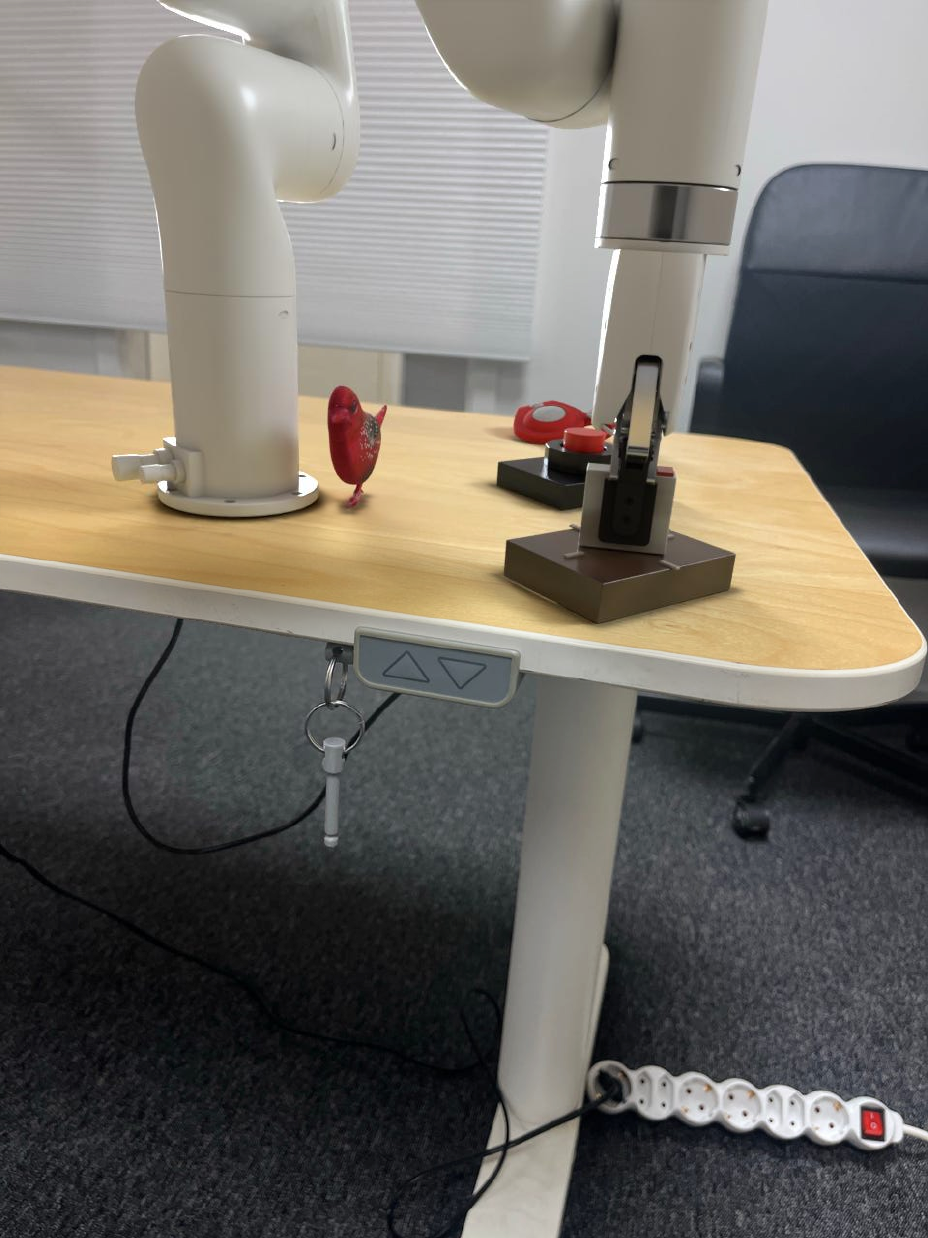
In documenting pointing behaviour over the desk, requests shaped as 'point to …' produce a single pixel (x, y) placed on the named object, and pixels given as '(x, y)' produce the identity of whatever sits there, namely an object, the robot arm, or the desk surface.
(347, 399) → the decorative bird figurine
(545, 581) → the brown flat block
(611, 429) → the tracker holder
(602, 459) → the button box
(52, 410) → the desk surface
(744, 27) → the robot arm
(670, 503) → the grey rectangular block
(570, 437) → the button
